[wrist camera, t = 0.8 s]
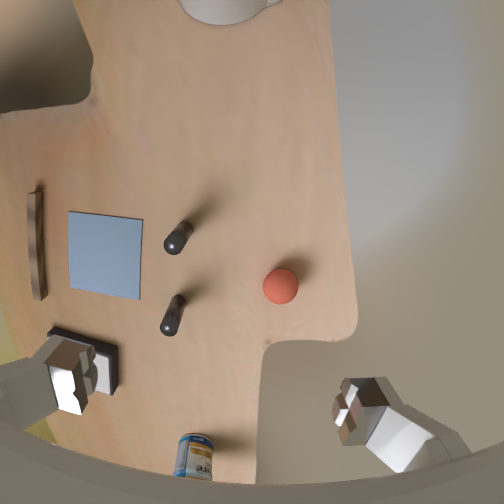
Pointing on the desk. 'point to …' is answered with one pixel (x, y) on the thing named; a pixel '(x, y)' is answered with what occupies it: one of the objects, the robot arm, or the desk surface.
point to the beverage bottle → (194, 457)
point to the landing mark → (105, 254)
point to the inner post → (178, 238)
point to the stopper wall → (36, 244)
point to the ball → (280, 286)
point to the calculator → (98, 360)
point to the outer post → (173, 316)
